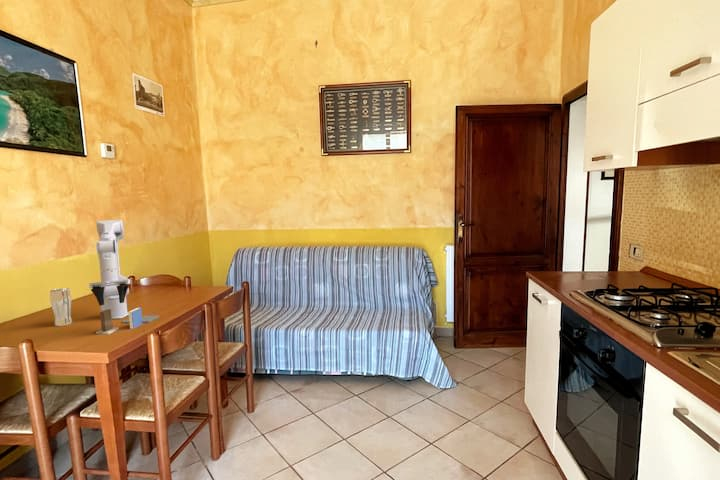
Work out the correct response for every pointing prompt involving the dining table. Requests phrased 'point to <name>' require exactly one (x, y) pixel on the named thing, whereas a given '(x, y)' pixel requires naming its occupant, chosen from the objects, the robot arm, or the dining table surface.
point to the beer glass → (61, 306)
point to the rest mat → (143, 319)
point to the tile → (135, 318)
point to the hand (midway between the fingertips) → (111, 304)
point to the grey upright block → (106, 323)
